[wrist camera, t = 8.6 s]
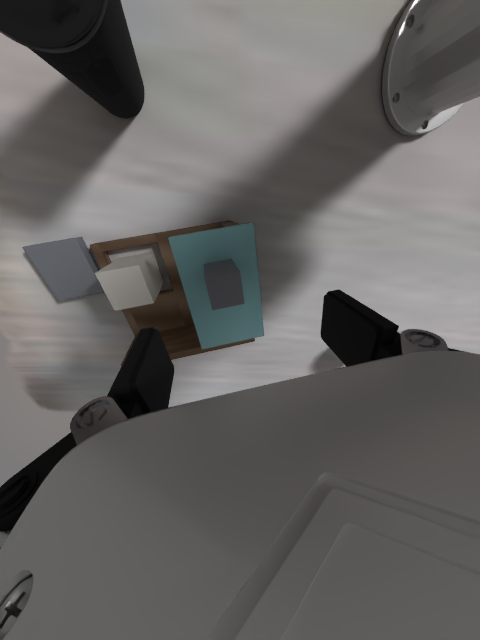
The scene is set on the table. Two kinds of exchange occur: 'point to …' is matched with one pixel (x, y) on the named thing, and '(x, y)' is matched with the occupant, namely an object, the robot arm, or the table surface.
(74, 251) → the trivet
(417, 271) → the table surface
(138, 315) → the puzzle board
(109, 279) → the block
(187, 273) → the cover
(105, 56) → the drinking cup
